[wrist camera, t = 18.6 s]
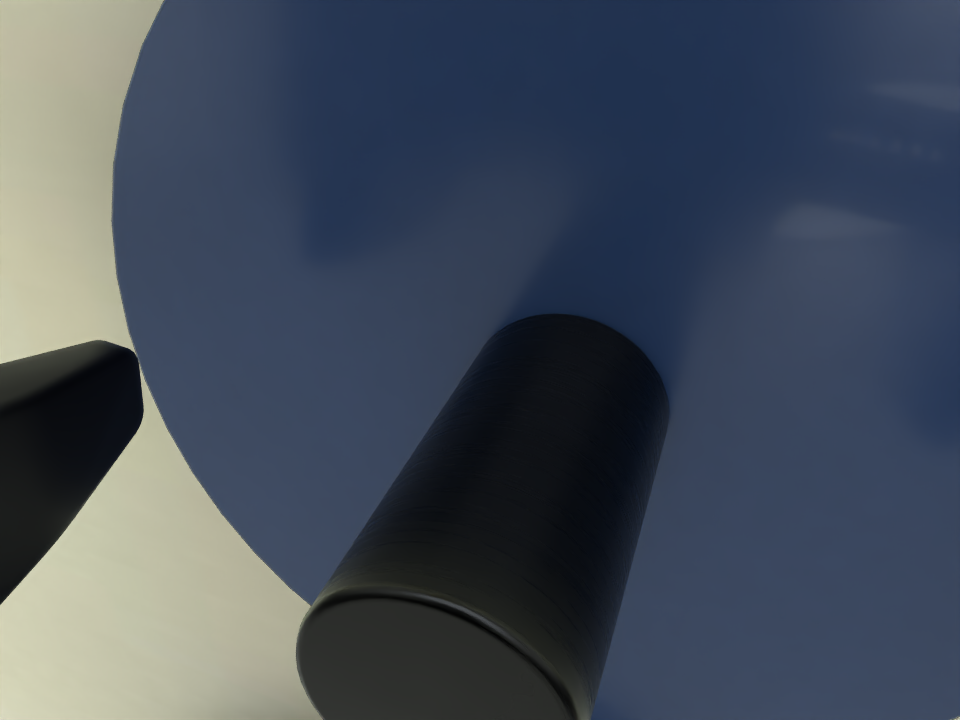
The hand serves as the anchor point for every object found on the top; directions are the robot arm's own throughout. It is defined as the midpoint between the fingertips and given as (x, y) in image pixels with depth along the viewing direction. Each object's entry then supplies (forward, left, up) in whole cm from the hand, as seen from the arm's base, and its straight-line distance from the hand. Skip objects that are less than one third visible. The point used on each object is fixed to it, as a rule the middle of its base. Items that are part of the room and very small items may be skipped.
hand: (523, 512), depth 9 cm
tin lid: (0, 0, -3) cm, 3 cm away
